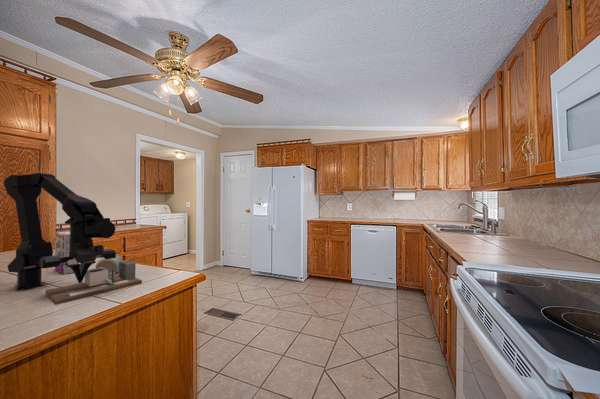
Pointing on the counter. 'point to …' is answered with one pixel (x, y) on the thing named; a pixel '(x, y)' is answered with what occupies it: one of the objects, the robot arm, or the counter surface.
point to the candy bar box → (62, 250)
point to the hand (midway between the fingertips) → (79, 282)
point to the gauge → (98, 276)
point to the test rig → (83, 290)
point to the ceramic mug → (110, 263)
